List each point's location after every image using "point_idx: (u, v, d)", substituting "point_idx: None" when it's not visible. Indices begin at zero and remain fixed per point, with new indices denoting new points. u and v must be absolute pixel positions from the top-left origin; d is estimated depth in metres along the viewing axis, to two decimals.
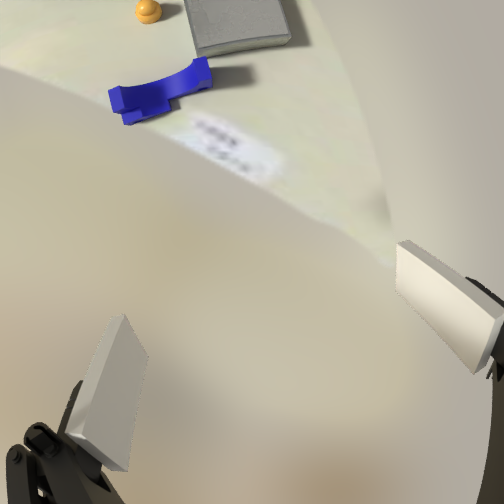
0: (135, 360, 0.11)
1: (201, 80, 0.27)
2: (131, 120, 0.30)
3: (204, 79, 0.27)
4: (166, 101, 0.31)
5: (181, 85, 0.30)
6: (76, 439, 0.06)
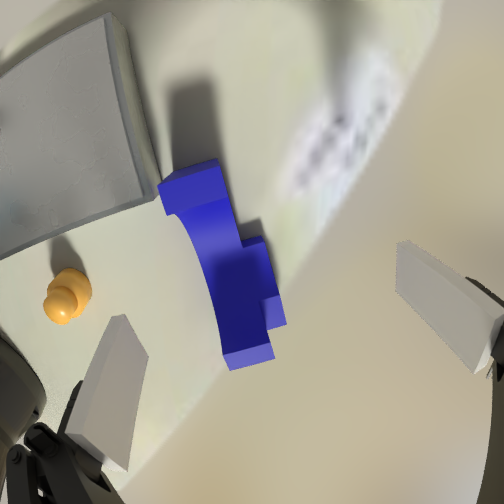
0: (135, 360, 0.11)
1: (225, 190, 0.13)
2: (281, 313, 0.19)
3: (222, 183, 0.13)
4: (247, 249, 0.19)
5: (217, 223, 0.17)
6: (76, 439, 0.06)
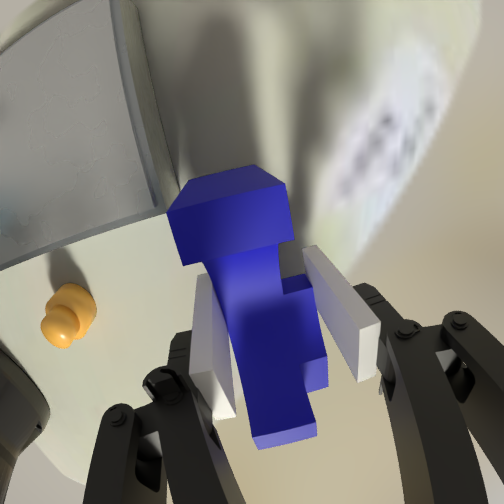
0: (222, 315, 0.13)
1: (289, 228, 0.07)
2: (325, 375, 0.14)
3: (286, 216, 0.07)
4: (290, 296, 0.13)
5: (253, 263, 0.12)
6: (200, 380, 0.08)
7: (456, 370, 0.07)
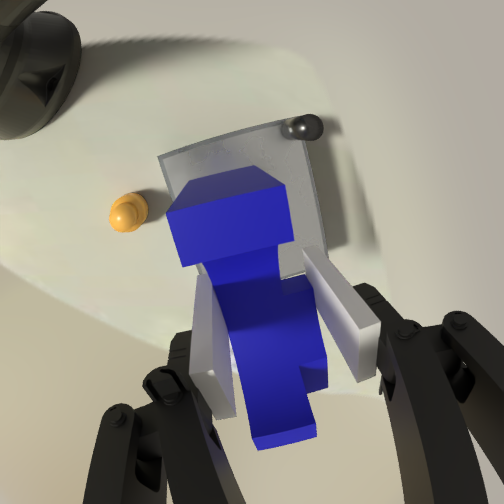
0: (222, 315, 0.13)
1: (289, 229, 0.07)
2: (325, 376, 0.14)
3: (286, 217, 0.07)
4: (290, 297, 0.13)
5: (253, 264, 0.12)
6: (199, 380, 0.08)
7: (456, 370, 0.07)
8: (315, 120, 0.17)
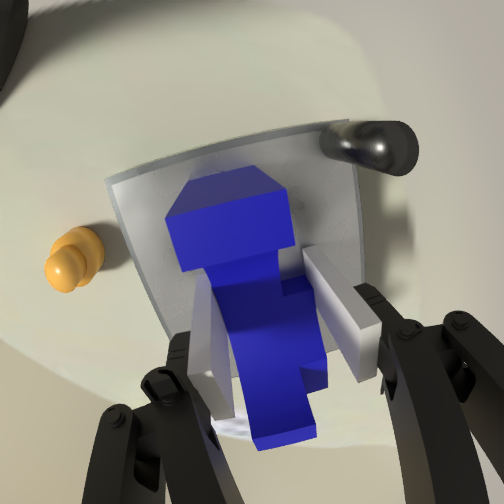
0: (221, 315, 0.13)
1: (290, 234, 0.07)
2: (324, 376, 0.14)
3: (287, 221, 0.07)
4: (289, 298, 0.13)
5: (253, 266, 0.12)
6: (198, 381, 0.08)
7: (457, 370, 0.07)
8: (407, 135, 0.07)
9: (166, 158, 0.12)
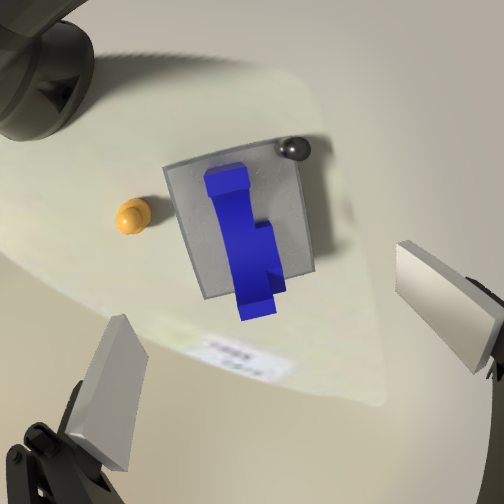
0: (135, 360, 0.11)
1: (248, 183, 0.19)
2: (282, 281, 0.26)
3: (247, 178, 0.19)
4: (259, 230, 0.25)
5: (239, 209, 0.24)
6: (76, 439, 0.06)
7: None
8: (303, 143, 0.19)
9: (196, 157, 0.24)
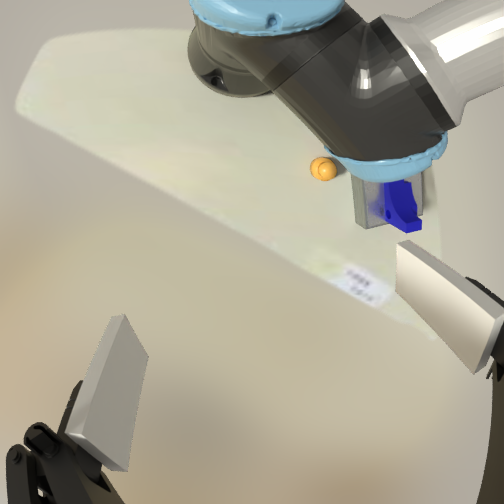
0: (135, 360, 0.11)
1: None
2: (416, 215, 0.38)
3: None
4: (405, 184, 0.38)
5: None
6: (76, 439, 0.06)
7: None
8: None
9: None
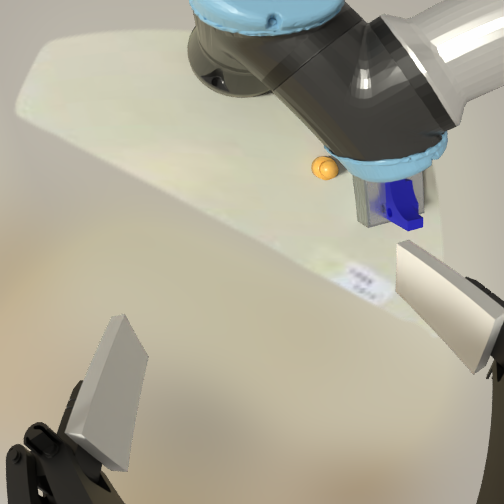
0: (135, 360, 0.11)
1: None
2: (417, 212, 0.38)
3: None
4: (406, 182, 0.37)
5: None
6: (76, 439, 0.06)
7: None
8: None
9: None
